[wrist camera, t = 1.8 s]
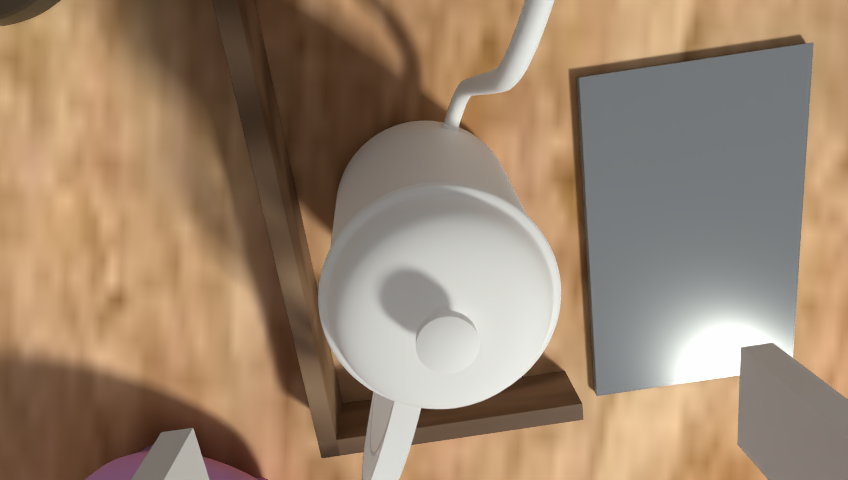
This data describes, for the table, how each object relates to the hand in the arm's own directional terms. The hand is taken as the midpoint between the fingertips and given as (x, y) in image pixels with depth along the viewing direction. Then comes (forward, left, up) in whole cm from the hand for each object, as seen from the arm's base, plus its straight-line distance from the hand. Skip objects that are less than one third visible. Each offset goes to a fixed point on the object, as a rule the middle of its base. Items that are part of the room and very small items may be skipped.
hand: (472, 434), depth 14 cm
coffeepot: (0, 0, -24) cm, 24 cm away
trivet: (+5, +17, -24) cm, 30 cm away
